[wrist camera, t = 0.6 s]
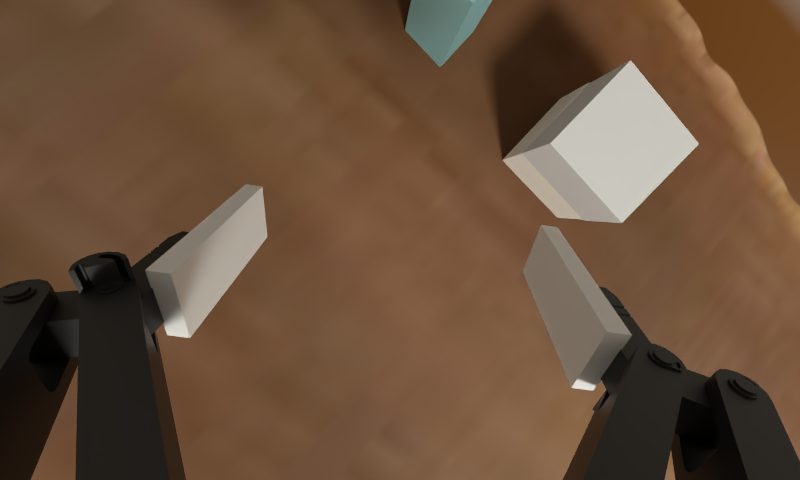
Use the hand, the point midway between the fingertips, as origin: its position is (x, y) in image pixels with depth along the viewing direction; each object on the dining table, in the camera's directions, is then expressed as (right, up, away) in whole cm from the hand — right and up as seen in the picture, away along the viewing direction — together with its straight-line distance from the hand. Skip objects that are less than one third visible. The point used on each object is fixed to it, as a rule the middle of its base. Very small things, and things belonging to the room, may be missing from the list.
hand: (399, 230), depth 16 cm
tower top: (+18, +8, +16) cm, 25 cm away
